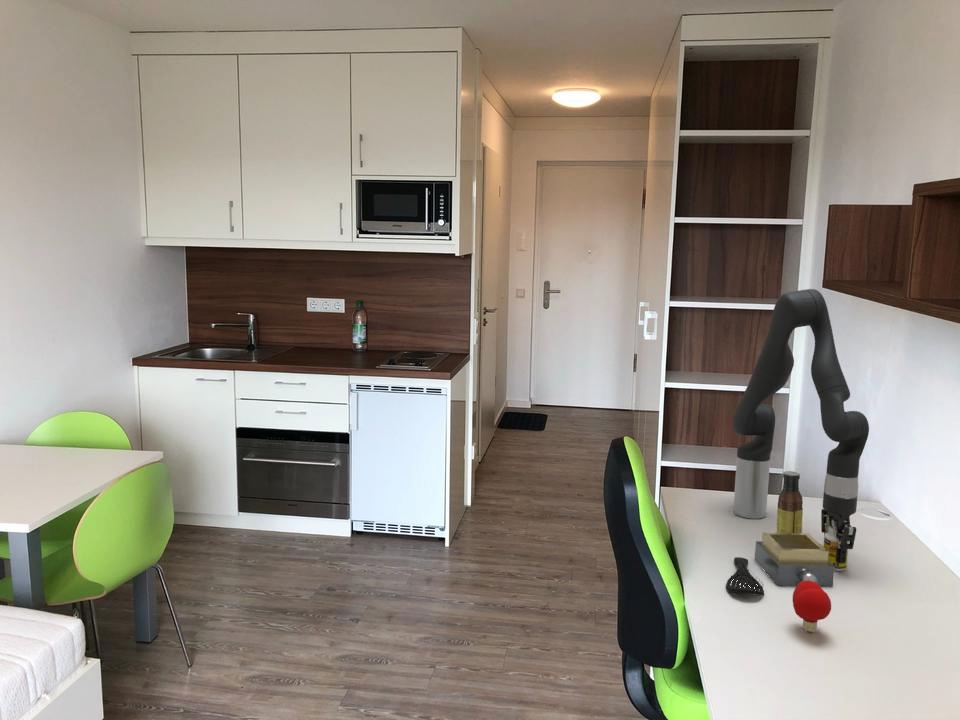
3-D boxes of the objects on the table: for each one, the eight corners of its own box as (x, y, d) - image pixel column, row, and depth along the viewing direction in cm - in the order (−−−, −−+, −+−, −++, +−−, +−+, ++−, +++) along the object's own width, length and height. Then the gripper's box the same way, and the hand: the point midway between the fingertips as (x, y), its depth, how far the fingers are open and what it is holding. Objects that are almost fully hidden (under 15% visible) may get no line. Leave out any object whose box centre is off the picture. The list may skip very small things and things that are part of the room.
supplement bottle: (817, 565, 190) (820, 525, 189) (831, 561, 193) (834, 522, 191) (837, 573, 185) (840, 533, 184) (851, 569, 188) (854, 529, 187)
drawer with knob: (754, 560, 193) (756, 529, 192) (806, 560, 193) (808, 530, 191) (781, 591, 175) (784, 558, 174) (838, 592, 175) (841, 559, 174)
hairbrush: (757, 551, 192) (767, 588, 168) (757, 565, 192) (766, 604, 168) (723, 547, 194) (727, 583, 170) (722, 561, 195) (726, 599, 171)
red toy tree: (783, 620, 161) (787, 575, 160) (817, 621, 161) (821, 576, 160) (800, 643, 152) (804, 595, 151) (836, 644, 152) (840, 596, 150)
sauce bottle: (796, 541, 206) (802, 470, 203) (804, 550, 200) (810, 476, 197) (771, 539, 206) (777, 469, 204) (778, 548, 200) (783, 475, 197)
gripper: (812, 482, 193) (807, 546, 196) (838, 501, 179) (832, 569, 182) (842, 483, 193) (836, 546, 196) (870, 501, 179) (864, 570, 182)
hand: (835, 557), depth 189 cm, fingers closed on supplement bottle, 5 cm apart
